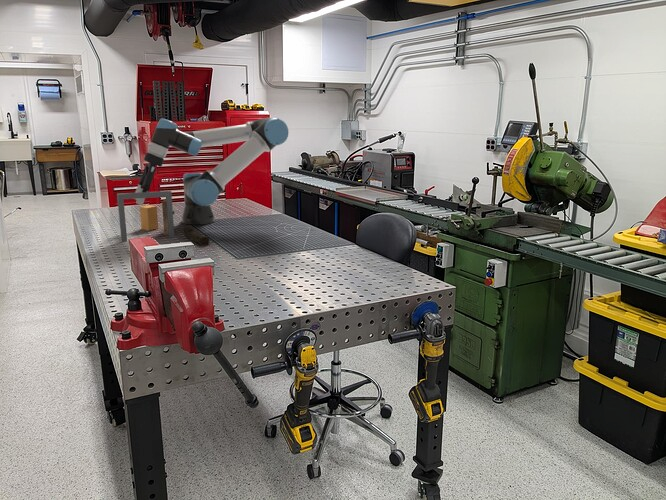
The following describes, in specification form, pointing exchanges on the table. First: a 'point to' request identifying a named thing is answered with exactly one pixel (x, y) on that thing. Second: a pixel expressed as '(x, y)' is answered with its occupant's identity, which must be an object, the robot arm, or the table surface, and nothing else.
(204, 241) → the hand tool
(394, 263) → the table surface
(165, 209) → the door
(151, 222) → the block
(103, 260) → the table surface
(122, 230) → the door frame
